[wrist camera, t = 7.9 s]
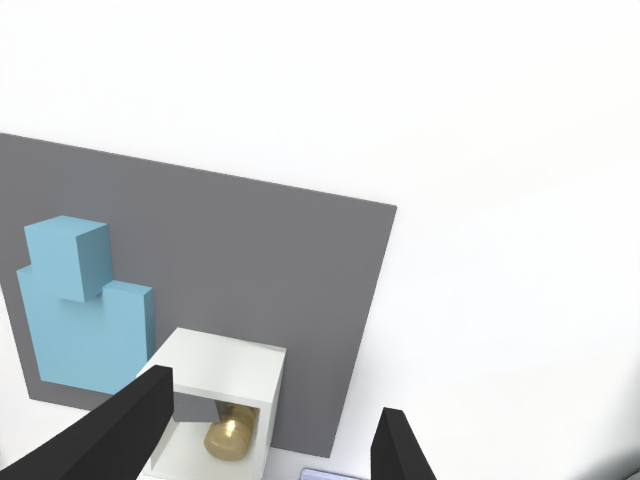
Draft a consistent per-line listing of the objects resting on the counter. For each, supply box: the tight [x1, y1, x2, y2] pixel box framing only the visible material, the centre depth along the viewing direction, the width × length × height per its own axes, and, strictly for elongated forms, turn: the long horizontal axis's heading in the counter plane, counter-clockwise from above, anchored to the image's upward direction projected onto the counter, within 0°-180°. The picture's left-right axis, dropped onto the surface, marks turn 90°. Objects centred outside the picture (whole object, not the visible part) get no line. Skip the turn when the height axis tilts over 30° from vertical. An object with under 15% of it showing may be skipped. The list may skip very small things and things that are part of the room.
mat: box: [0, 133, 397, 458], centre depth 21 cm, size 22×26×1 cm
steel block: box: [172, 391, 229, 422], centre depth 20 cm, size 3×3×3 cm
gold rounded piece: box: [204, 402, 259, 461], centre depth 21 cm, size 3×3×3 cm
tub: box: [136, 327, 286, 480], centre depth 21 cm, size 9×8×4 cm
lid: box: [16, 215, 156, 395], centre depth 20 cm, size 14×9×2 cm, turn 170°
